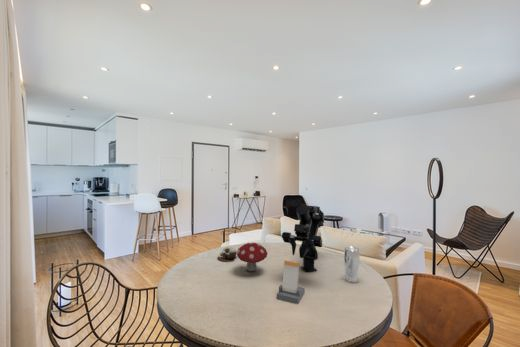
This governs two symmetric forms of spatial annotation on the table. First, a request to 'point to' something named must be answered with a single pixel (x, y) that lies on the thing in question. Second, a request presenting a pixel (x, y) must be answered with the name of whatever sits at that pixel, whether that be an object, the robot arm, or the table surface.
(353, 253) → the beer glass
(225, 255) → the skull
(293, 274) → the lever
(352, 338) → the table surface
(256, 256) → the decorative mushroom
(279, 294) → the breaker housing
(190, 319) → the table surface
